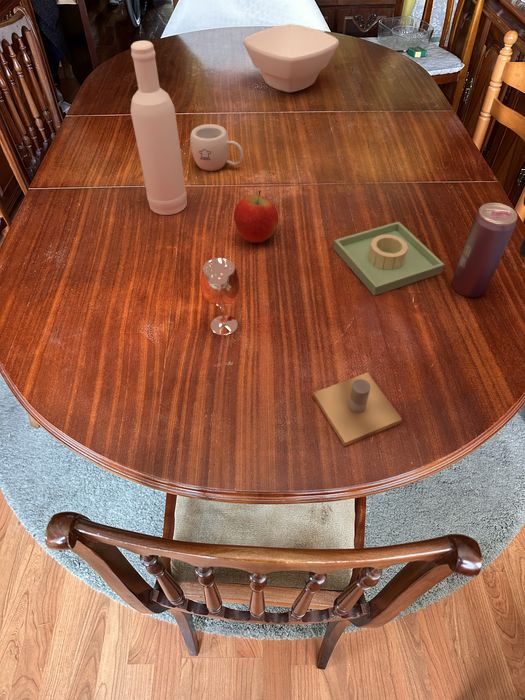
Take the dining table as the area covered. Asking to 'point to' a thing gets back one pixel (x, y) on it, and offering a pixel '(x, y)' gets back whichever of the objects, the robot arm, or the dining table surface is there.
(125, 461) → the dining table surface
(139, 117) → the bottle
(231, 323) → the wineglass
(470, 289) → the beverage can
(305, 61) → the bowl
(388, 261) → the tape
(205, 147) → the mug
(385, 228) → the tray
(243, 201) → the apple
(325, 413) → the peg stand
